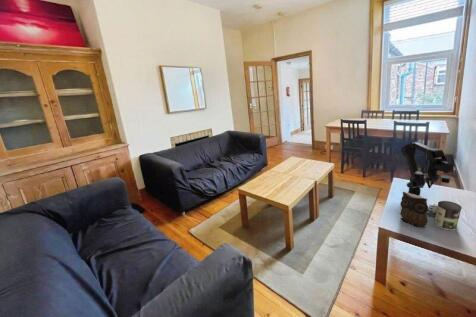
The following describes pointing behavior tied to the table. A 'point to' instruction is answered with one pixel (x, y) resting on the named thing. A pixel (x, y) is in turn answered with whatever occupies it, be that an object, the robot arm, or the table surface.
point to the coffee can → (447, 215)
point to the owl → (414, 210)
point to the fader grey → (434, 207)
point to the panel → (430, 212)
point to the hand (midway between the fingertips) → (429, 188)
